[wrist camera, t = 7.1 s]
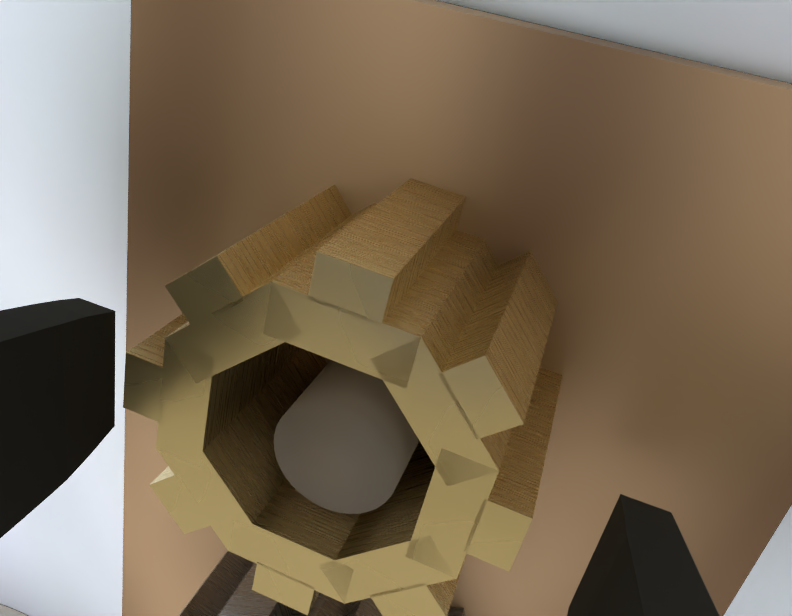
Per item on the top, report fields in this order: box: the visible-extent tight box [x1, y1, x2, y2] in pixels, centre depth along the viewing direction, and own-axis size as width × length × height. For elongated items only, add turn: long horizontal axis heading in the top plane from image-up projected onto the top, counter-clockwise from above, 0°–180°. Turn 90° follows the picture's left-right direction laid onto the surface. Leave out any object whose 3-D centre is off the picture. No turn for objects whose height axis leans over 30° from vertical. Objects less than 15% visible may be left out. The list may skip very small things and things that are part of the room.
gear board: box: [122, 0, 792, 616], centre depth 13 cm, size 12×18×4 cm, turn 170°
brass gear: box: [123, 178, 563, 616], centre depth 10 cm, size 6×6×4 cm
